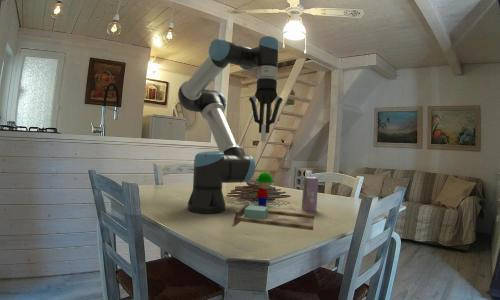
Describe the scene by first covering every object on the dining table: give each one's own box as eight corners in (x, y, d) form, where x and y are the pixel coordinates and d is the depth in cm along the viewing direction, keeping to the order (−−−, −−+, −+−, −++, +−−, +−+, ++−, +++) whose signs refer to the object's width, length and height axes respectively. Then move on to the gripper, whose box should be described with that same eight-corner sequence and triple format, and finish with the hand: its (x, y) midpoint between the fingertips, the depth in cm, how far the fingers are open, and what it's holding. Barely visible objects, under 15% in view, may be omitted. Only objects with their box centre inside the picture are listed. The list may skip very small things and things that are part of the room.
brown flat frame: (234, 224, 99) (234, 212, 99) (246, 213, 115) (246, 203, 115) (312, 234, 93) (313, 221, 93) (314, 221, 109) (314, 210, 108)
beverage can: (315, 212, 124) (317, 176, 124) (317, 215, 119) (319, 178, 118) (301, 211, 125) (303, 175, 125) (302, 214, 119) (304, 177, 119)
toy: (267, 208, 126) (269, 173, 126) (251, 205, 130) (253, 172, 130) (275, 206, 133) (277, 172, 132) (260, 203, 137) (262, 171, 136)
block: (244, 217, 103) (244, 208, 103) (249, 213, 110) (249, 205, 110) (263, 219, 101) (264, 211, 101) (267, 215, 108) (267, 207, 108)
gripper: (247, 77, 109) (244, 140, 110) (282, 77, 106) (279, 142, 107) (252, 81, 117) (249, 141, 117) (285, 81, 113) (281, 142, 114)
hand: (263, 141), depth 112 cm, fingers closed
